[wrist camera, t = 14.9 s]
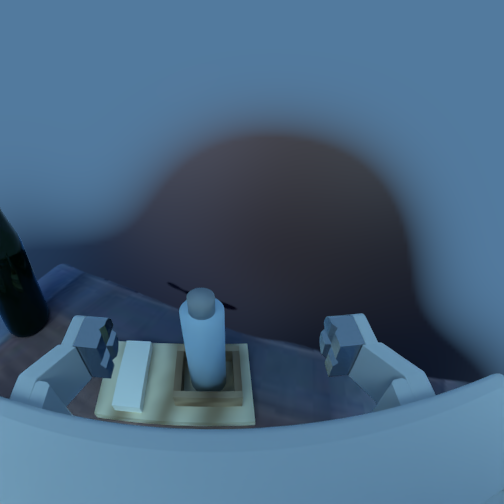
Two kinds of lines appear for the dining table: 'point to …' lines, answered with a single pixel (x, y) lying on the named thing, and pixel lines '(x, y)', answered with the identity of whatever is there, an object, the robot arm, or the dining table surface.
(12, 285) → the green wine bottle
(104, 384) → the jig
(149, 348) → the white rectangular bar
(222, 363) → the tapered blue cylinder
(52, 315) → the dining table surface
